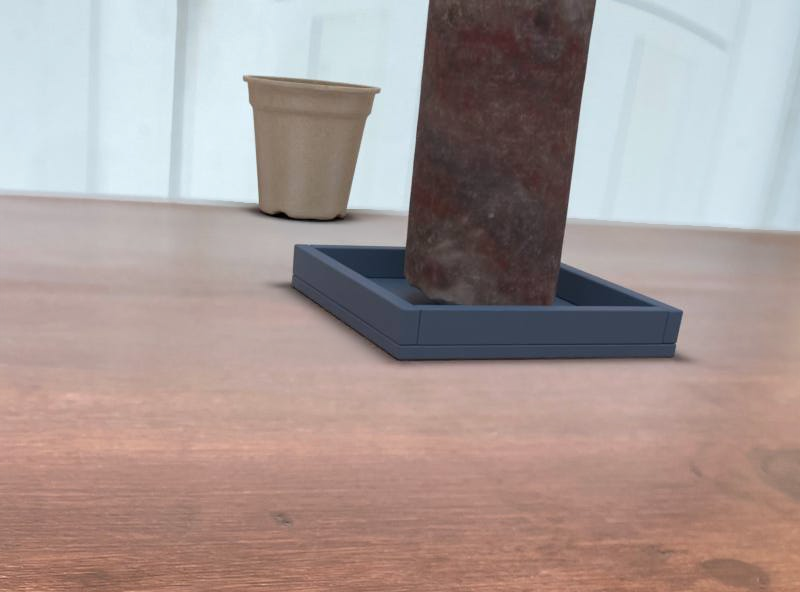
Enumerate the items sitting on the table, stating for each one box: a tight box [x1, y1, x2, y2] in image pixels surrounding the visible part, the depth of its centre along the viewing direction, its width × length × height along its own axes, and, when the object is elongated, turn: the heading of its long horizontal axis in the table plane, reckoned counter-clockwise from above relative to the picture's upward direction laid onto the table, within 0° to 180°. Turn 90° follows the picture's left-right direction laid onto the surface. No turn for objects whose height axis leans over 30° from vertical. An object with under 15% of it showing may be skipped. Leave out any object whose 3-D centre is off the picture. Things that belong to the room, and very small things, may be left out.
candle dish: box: [291, 243, 684, 361], centre depth 57 cm, size 14×15×2 cm
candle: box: [404, 0, 597, 306], centre depth 53 cm, size 8×7×20 cm
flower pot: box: [242, 74, 382, 221], centre depth 83 cm, size 9×9×9 cm
